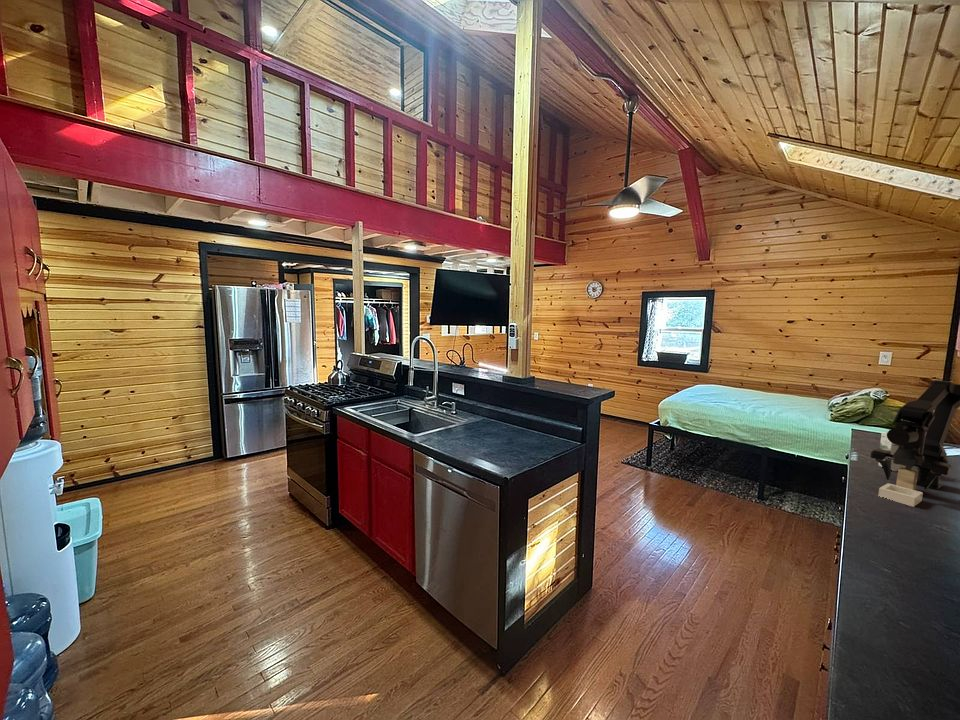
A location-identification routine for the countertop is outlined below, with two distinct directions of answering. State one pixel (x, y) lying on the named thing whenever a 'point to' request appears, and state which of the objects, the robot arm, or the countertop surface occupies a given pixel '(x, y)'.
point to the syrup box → (891, 447)
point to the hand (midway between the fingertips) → (906, 484)
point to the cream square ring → (900, 494)
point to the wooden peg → (907, 478)
